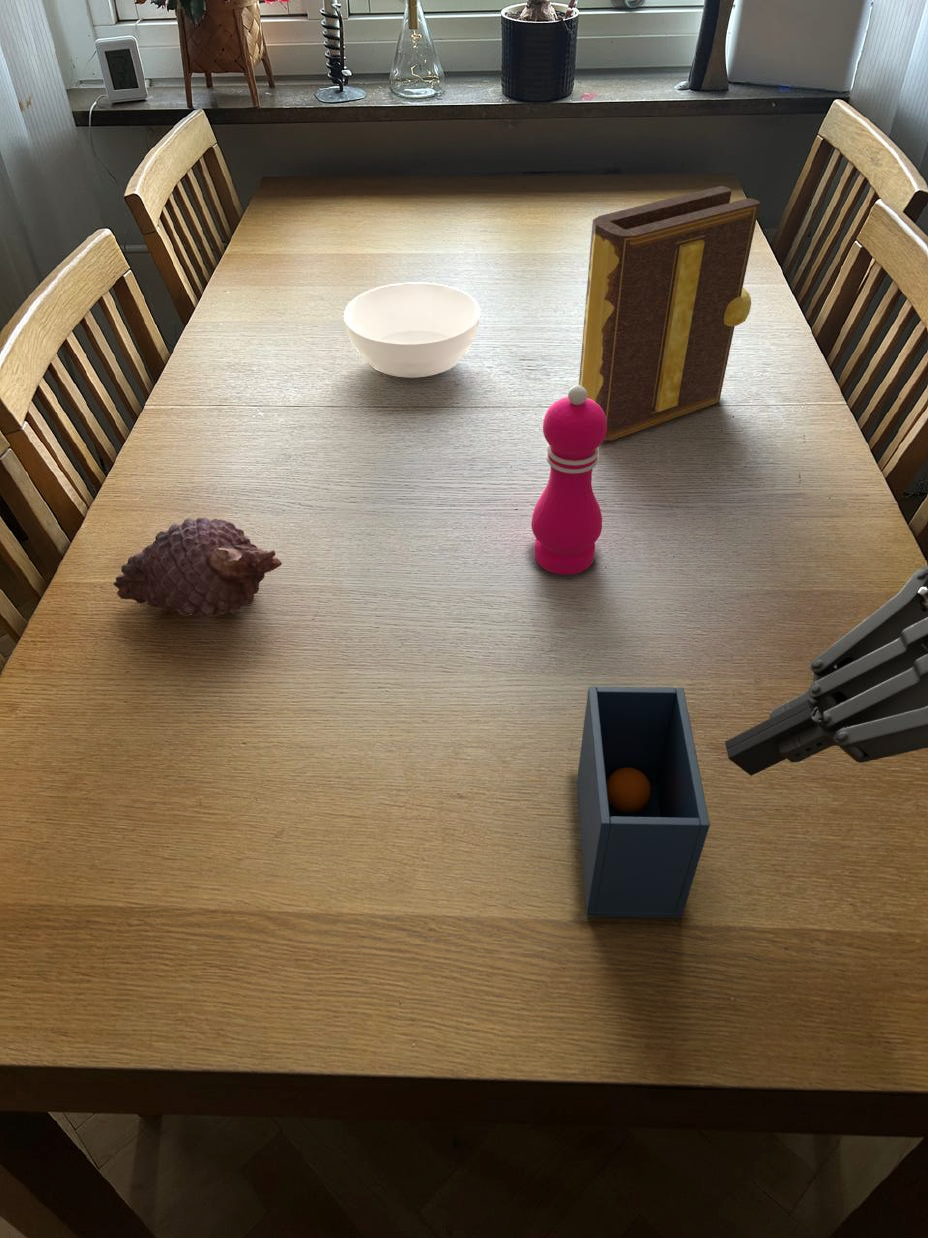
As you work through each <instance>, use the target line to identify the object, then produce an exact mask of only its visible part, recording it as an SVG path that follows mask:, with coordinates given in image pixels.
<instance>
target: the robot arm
mask: <svg viewBox="0 0 928 1238" xmlns="http://www.w3.org/2000/svg"><path fill="white" fill-rule="evenodd" d="M809 669H810V671H811V672H812V673H813V675H812V683H811V684H810V685H809V686H808V688H807V691H805V692H803V693H801V694H800V695H797V696H796V697H793V698H792V699H789V700H788V701H786V702H784V703H782V704H780V705H778V706H776V707H774V708H773V709H772V710H771V711H770V712H768V715H769V718H768V719H766V720H764V721H762V722H760V723H758V724H756V725H754V726H752V727H751V728H748V729H746V730H745V731H743V732H741V733H739V734H737V735H735V736H733V737H730V738H729V739H727V740H725V741H724V744H725V749H726V753H727V759H728V760H729V761H731V762H732V763H733V764H734V765H736V766H737V767H739V768H740V769H741V770H742V771H744V772H745V773H747V774H748V775H749V776H750V777H752V776H755V775H756V774H758V773H761V772H762V771H764V770H766V769H770V768H771V767H772V766H775V765H777V764H779V763H781V762H783V761H785V760H787V761H789V763H791V764H792V763H800V762H803V761H804V760H806V759H808V758H810V757H812V756H815V755H816V754H818V753H821V752H823V751H825V750H827V749H829V748H832V747H839V748H840V749H841V750H842V751H843V752H844V753H845V754H847V755H848V756H849V757H850V758H852V759H853V760H854V762H856V763H859V764H861V763H867V762H872V761H875V760H881V759H885V758H889V757H894V756H898V755H902V754H906V753H910V752H915V751H919V750H924V749H928V566H922V567H919V568H918V569H916V571H914V573H912V575H911V577H910V578H909V579H908V580H907V582H906V583H905V584H904V585H903V587H902V588H901V590H899V592H898V593H896V595H894V596H892V597H891V598H890V599H889V600H888V601H886V602H885V603H883V605H881V606H880V607H879V608H878V609H876V610H875V611H874V612H872V613H871V614H869V616H867V617H865V619H863V620H862V621H861V622H860V623H859V624H857V625H856V626H854V627H853V628H852V629H851V630H850V631H848V632H847V633H846V634H844V635H843V636H842V637H840V638H839V639H838V640H836V641H835V642H834V643H833V644H832V645H831V646H829V647H828V648H827V649H825V650H824V651H822V652H821V653H820V654H819V655H817V656H816V657H815V658H813V660H812V661H811V662H810V664H809Z"/></svg>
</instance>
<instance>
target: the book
mask: <svg viewBox="0 0 928 1238" xmlns="http://www.w3.org/2000/svg"><path fill="white" fill-rule="evenodd" d="M732 191H733V189H732V188H730V187H727V186H724V185H719V186H715V187H711V188H706V189H702V190H699V191H695V192H690V193H687V194H683V195H680V196H675V197H670V198H666V199H663V200H662V199H661V200H659V201H655V202H650V203H646V204H642V205H638V206H634V207H630V208H626V209H622V210H618V211H614V212H610V213H605V214H602V215H601V214H600V215H598V216H596V217H595V218H594V219H592V224H591V236H590V247H589V258H588V271H587V284H586V293H585V294H586V295H585V304H584V305H585V307H584V317H583V330H582V341H581V342H582V343H581V352H580V366H579V377H578V385H579V386H582V387H584V388H585V389H586V391H587V398H589V399H591V400H593V401H595V402H596V403H597V404H598V405H599V406H600V407H601V408H602V410H603V411H604V413H605V416H606V420H607V432H606V437H605V439H604V441H603V442H602V443H607V442H613V441H617V440H619V439H621V438H624V437H628V436H629V435H632V434H636V433H638V432H641V431H644V430H647V429H649V428H652V427H655V426H658V425H661V424H664V423H667V422H669V421H672V420H674V419H678V418H681V417H683V416H686V415H688V414H692V413H695V412H697V411H700V410H703V409H705V408H708V407H712V406H714V405H717V404H719V403H720V399H721V396H722V391H723V386H724V381H725V375H726V370H727V365H728V360H729V356H730V350H731V346H732V341H733V337H734V333H735V327H737V326H739V325H741V324H743V323H744V322H746V320H747V319H748V316H749V315H750V312H751V307H752V297H751V294H750V293H749V292H748V291H747V290H746V289H745V287H744V283H745V278H746V273H747V268H748V263H749V257H750V253H751V249H752V245H753V244H752V243H753V239H754V234H755V229H756V225H757V218H758V216H759V215H758V214H759V209H760V204H761V203H760V201H759V200H757V199H754V198H751V197H747V198H744V199H739V200H735V201H732V202H731V197H732Z"/></svg>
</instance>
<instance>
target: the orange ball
mask: <svg viewBox="0 0 928 1238" xmlns="http://www.w3.org/2000/svg"><path fill="white" fill-rule="evenodd" d="M606 785H607V795H608V802H609V803H610V805H611V806H612V807H613V808H614V809H616V810H617V811H619V812H622V813H627V814H631V813H636V812H638V811H640V810H642V809H643V808H644V807H645V806H646V805H647V804H648V802H649V800H650V797H651V785H650V782H649V780H648V779H647V777H646V776H645V775H644V774H643V773H642V772H641V771H639V770H637V769H634V768H629V767H625V768H620V769H618V770H616V771H615V772H613V773H612V774H611V775H610V776H609V778H608V780H607V782H606Z"/></svg>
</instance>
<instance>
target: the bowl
mask: <svg viewBox="0 0 928 1238" xmlns="http://www.w3.org/2000/svg"><path fill="white" fill-rule="evenodd" d="M480 320H481V307H480V305H479V304H478V302H477V300H476V299H475V298H474V297H473V296H471V295H470V294H468V293H467V292H466V291H463V290H461V289H458V288H456V287H452V286H449V285H445V284H438V283H431V282H404V283H403V282H402V283H401V282H400V283H394V284H387V285H383V286H379V287H376V288H373V289H369V290H368V291H365V292H363V293H361V294H359V295H358V296H356V297H355V298H353V299H352V300H351V301H350V302H349V303H348V304H347V306H346V307H345V309H344V313H343V321H344V325H345V328H346V332H347V334H348V338H349V341H350V343H351V345H353V347H354V348H355V349H356V350H357V352H358V354H359V356H360V357H361V358H362V359H363V360H364V361H365V362H366V363H367V364H368V365H370V367H372V368H373V369H374V370H376V371H378V372H381V374H385V375H388V376H393V377H397V378H398V377H399V378H424V377H430V376H436V375H438V374H441V373H445V372H446V371H448V370H450V369H452V368H453V367H455V366H456V365H458V364H459V363H460V361H461V360H462V359H463V358H464V357H465V356H466V354H467V353H468V352H469V350H470V347H471V345H472V344H473V343H474V341H475V340H476V337H477V334H478V331H479V326H480Z"/></svg>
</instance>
